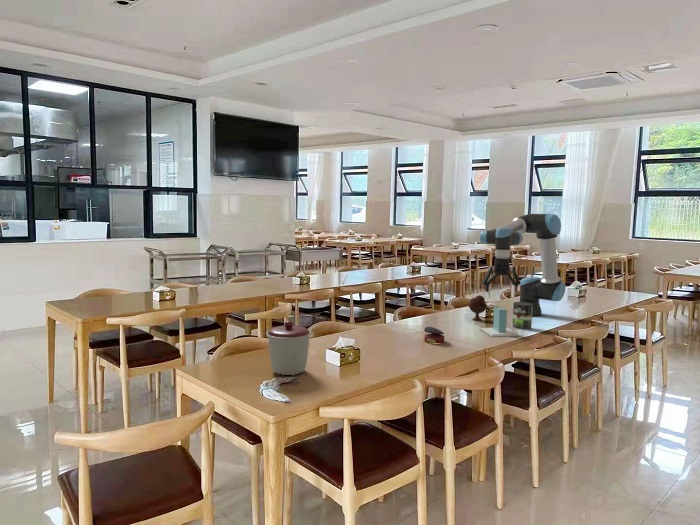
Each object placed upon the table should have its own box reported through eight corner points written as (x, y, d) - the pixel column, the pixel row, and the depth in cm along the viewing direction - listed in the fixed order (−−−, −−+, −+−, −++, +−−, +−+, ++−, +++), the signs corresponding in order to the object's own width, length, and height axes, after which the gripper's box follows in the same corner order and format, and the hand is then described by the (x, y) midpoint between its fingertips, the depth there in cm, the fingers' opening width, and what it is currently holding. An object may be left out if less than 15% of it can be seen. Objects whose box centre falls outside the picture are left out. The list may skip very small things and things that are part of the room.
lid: (506, 329, 283) (507, 305, 281) (517, 335, 269) (519, 310, 268) (481, 330, 281) (482, 306, 280) (492, 336, 267) (493, 311, 266)
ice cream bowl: (484, 318, 314) (485, 293, 312) (487, 322, 303) (488, 297, 301) (466, 317, 315) (467, 293, 313) (469, 321, 304) (470, 296, 302)
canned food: (423, 350, 260) (417, 331, 263) (440, 346, 264) (434, 327, 267) (433, 345, 250) (427, 325, 253) (451, 341, 254) (444, 321, 257)
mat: (507, 330, 284) (507, 329, 284) (520, 337, 268) (520, 336, 268) (479, 330, 282) (479, 329, 282) (491, 338, 266) (491, 337, 266)
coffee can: (526, 331, 281) (528, 305, 280) (509, 328, 288) (510, 303, 287) (534, 328, 289) (536, 303, 287) (517, 325, 296) (518, 301, 294)
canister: (277, 363, 222) (277, 315, 219) (317, 367, 216) (317, 317, 214) (258, 376, 204) (257, 324, 202) (301, 381, 199) (301, 327, 197)
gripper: (521, 256, 276) (519, 296, 278) (476, 256, 273) (475, 296, 275) (528, 258, 269) (526, 298, 271) (482, 258, 265) (480, 299, 267)
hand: (500, 297), depth 273 cm, fingers open, 13 cm apart
